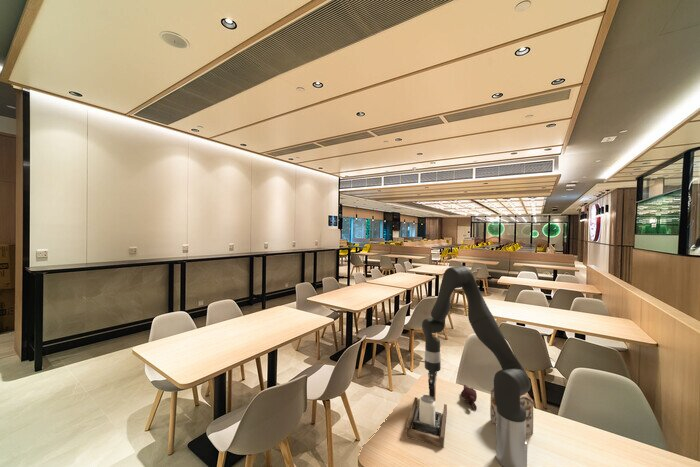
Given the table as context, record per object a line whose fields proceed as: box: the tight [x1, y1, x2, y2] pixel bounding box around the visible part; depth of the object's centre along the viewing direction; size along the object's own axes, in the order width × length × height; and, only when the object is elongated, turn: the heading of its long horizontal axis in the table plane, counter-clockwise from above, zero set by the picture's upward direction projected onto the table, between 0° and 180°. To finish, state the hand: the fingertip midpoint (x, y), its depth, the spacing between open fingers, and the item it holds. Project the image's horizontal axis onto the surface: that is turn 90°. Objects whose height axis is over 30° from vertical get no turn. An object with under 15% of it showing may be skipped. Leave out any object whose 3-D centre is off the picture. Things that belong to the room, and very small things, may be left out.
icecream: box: [460, 384, 478, 411], centre depth 135 cm, size 7×7×15 cm
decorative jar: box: [489, 387, 534, 436], centre depth 118 cm, size 12×12×18 cm
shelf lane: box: [405, 397, 448, 449], centre depth 118 cm, size 14×22×4 cm, turn 157°
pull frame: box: [412, 380, 442, 437], centre depth 125 cm, size 10×26×10 cm, turn 157°
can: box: [418, 394, 436, 426], centre depth 117 cm, size 6×6×12 cm
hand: (432, 394), depth 135 cm, fingers closed on pull frame, 3 cm apart
